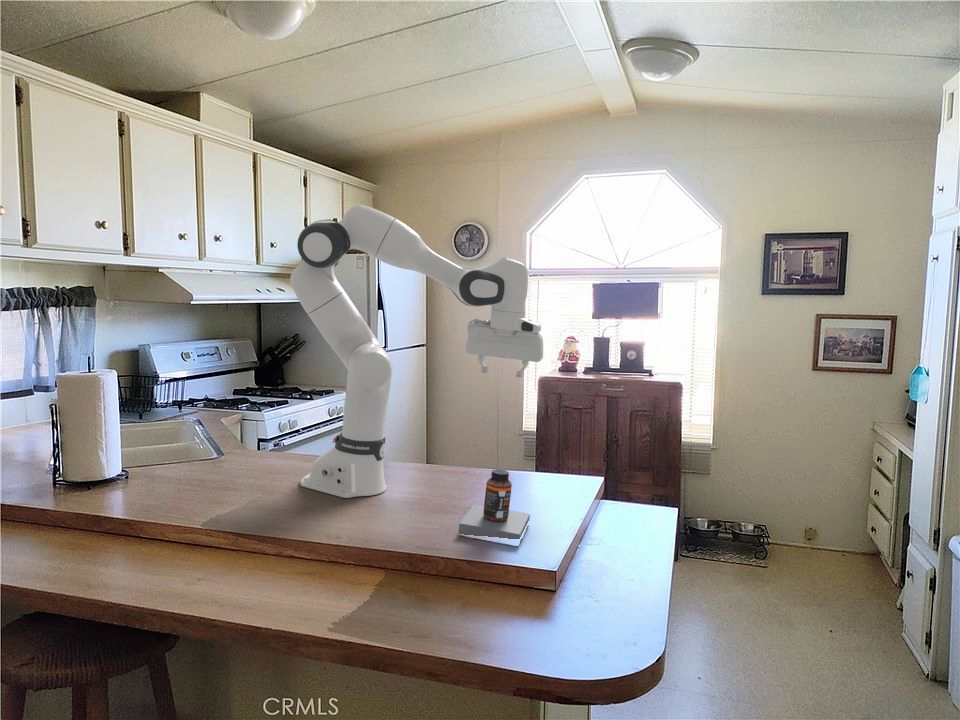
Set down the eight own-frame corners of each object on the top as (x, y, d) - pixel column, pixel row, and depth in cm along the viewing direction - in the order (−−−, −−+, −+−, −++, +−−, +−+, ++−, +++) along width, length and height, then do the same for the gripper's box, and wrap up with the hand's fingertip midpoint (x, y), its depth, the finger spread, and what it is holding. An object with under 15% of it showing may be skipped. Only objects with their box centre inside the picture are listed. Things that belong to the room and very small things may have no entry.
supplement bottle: (506, 524, 147) (511, 476, 146) (480, 520, 148) (485, 473, 147) (509, 515, 153) (514, 469, 152) (485, 511, 154) (490, 466, 153)
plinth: (458, 535, 146) (459, 523, 145) (473, 515, 159) (474, 503, 159) (518, 547, 143) (519, 534, 142) (528, 525, 156) (530, 513, 156)
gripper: (465, 318, 165) (460, 371, 167) (543, 327, 161) (537, 381, 162) (471, 317, 171) (466, 368, 173) (547, 326, 167) (541, 378, 168)
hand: (501, 375), depth 167 cm, fingers open, 8 cm apart
